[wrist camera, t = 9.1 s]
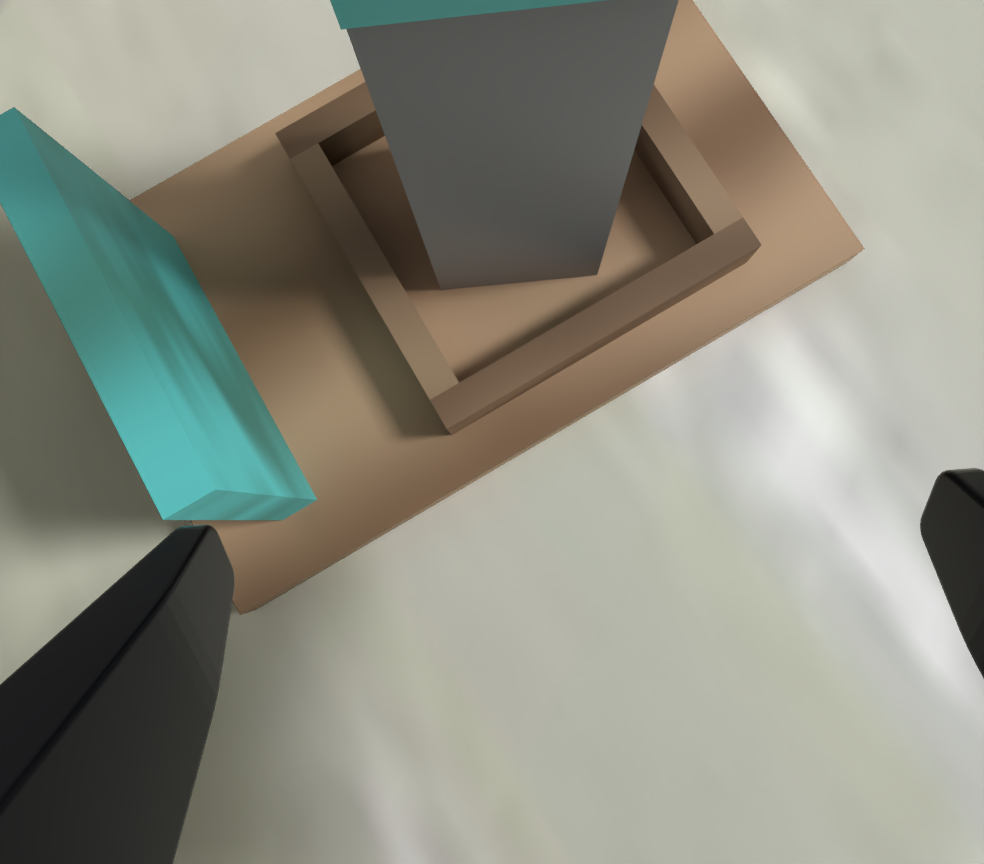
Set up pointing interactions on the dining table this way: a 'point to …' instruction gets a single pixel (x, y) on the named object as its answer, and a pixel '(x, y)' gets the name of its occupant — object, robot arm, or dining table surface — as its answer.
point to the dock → (393, 307)
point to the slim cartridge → (510, 123)
